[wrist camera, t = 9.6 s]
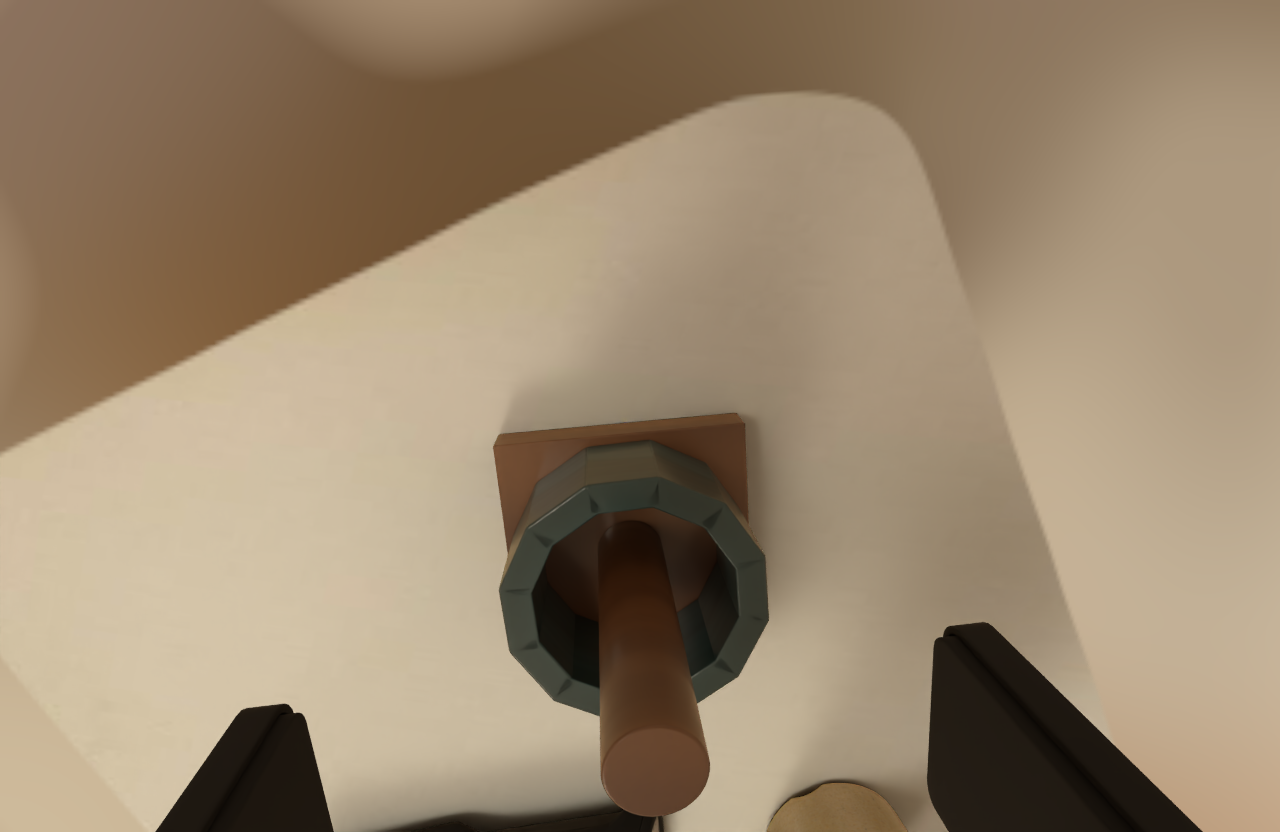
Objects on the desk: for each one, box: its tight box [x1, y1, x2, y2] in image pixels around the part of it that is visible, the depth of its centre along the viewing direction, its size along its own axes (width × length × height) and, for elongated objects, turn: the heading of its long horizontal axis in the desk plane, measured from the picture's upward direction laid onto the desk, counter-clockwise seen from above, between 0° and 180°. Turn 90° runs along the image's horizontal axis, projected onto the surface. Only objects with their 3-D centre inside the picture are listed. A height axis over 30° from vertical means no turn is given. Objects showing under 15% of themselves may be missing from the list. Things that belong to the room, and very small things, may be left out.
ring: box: [499, 440, 769, 716], centre depth 24 cm, size 8×8×4 cm
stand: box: [493, 413, 749, 817], centre depth 21 cm, size 9×9×12 cm
